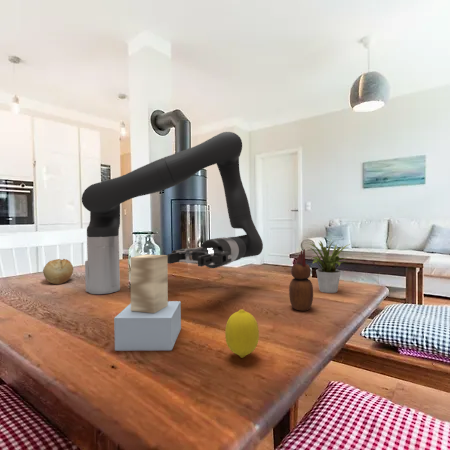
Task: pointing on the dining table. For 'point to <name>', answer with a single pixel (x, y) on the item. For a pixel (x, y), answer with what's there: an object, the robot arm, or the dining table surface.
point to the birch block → (149, 283)
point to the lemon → (242, 333)
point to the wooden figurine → (301, 285)
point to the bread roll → (58, 271)
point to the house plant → (328, 268)
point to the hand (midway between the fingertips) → (183, 260)
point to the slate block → (147, 328)
